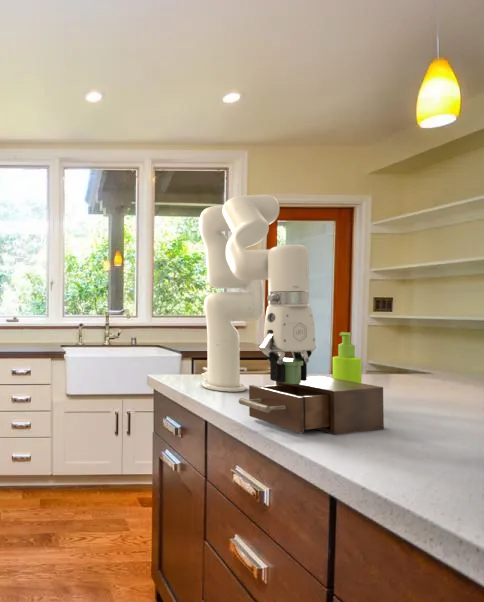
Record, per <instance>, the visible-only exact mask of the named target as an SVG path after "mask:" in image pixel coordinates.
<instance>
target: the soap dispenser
mask: <svg viewBox="0 0 484 602" xmlns="http://www.w3.org/2000/svg"><path fill="white" fill-rule="evenodd" d="M352 334H353V332H345V331H341V332H340V333H338V335H339V337H341V343H339V344H338V345H337V347H338V348H337V353H338V355H334V356H332V357H331V358H332V360H331V361H332V378H335V379H340V380H346V381H351V382H357V383H362V359H361V358H360V357H356V346H355V344H353V343H351V336H352Z"/></svg>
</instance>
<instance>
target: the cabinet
mask: <svg viewBox="0 0 484 602" xmlns="http://www.w3.org/2000/svg"><path fill="white" fill-rule="evenodd" d="M283 384H286V385H291V386H295V387H300V388H304V389H309V390H313V391H318V392H322V393H327V394H330V411H331V427H323V428H315V429H316V430H319V431H322V432H324V433H327V434H331V435H335V436H337V435H343V434H350V433H359V432H368V431H374V430H375V431H376V430H383V429H385V428H384V427H385V424H384V423H385V419H384V415H385V414H384V413H385V412H384V411H385V410H384V386H380V385H379V386H378V385H374V384H367V383H363V382H361V383H357V382H351V381H346V380H340V379H335V378H333V377H327V376H322V375H317V376H316V375H314V376H307V380H306V381H301V384H287V383H281V382H277V381H275V385H283Z"/></svg>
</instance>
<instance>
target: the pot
mask: <svg viewBox="0 0 484 602" xmlns="http://www.w3.org/2000/svg"><path fill="white" fill-rule="evenodd" d="M282 364H285V382H283V383H287V384H301V366H303V360H299V359H293V358H291V357H290V358H289V357H284V360H283V363H282Z"/></svg>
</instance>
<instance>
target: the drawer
mask: <svg viewBox="0 0 484 602" xmlns="http://www.w3.org/2000/svg"><path fill="white" fill-rule="evenodd" d="M248 391H249V392H248V396H249V397H248V399H246V398H244V397H240V398H239V399H238V404H239V405H241V406H245V407H248V411H249V414H248V415H249V417H251V418H254V419H257V420H260V421H263V422H265V423H269V424H271V425H274V426H277V427H280V428H283V429H286V430H289V431H291V432H295V433H297V434H304V433H305V431H306V430H314V429H315V428H323V427H331V411H330V394H327V393H322V392H318V391H313V390H309V389H304V388H300V387H295V386H291V385H286V384H283V385H276V384H272V385H260V386H259V385H255V384H249V385H248Z"/></svg>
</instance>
